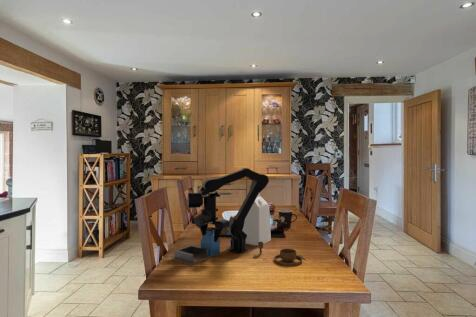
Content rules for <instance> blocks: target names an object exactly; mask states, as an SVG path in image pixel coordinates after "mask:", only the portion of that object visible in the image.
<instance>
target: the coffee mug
mask: <svg viewBox="0 0 476 317" xmlns="http://www.w3.org/2000/svg"><path fill="white" fill-rule="evenodd" d="M293 216H295V219H294V220H292V218H293ZM278 219H279V227H280V226H282V227H283V228H282V227H281V228H282V229H290V228H291V227H292V223H294V222H296V221H297V219H298V216H297V215H296V214H295V213H293V210H291V209H279V210H278Z"/></svg>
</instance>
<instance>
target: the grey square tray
mask: <svg viewBox="0 0 476 317" xmlns="http://www.w3.org/2000/svg"><path fill="white" fill-rule="evenodd" d="M173 252H174V255H173V257H171V260H172V261H173V262H177V263H181V264H185V265H187V266H192V267H193V266H195V265H197V264H199V263H202V262H204V261H207V260H209V259H212V257H211V255H208V249H207V248H202V247H201V246H197V245H193V244H190V245H187V246H184V247H181V248H178V249H176V250H174V251H173Z"/></svg>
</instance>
